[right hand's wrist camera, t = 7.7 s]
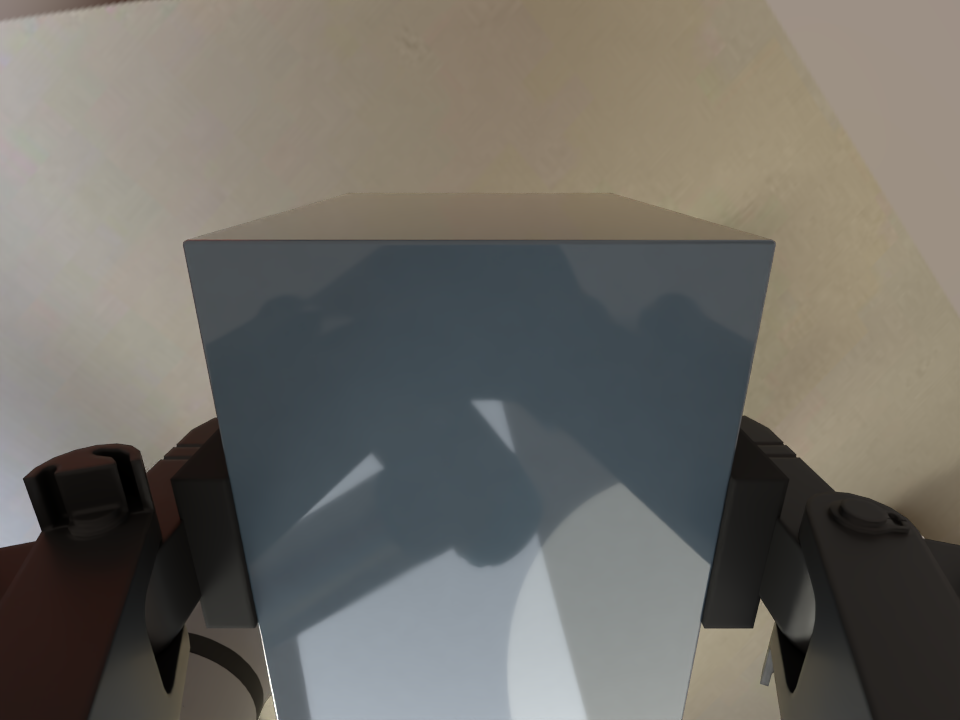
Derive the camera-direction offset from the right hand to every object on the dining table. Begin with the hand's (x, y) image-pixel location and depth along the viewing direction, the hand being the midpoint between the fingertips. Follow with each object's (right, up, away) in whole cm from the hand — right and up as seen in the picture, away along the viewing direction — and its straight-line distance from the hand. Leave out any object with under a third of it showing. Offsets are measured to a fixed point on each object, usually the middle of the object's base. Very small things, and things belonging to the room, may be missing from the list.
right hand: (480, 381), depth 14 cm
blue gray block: (0, +1, +2) cm, 2 cm away
